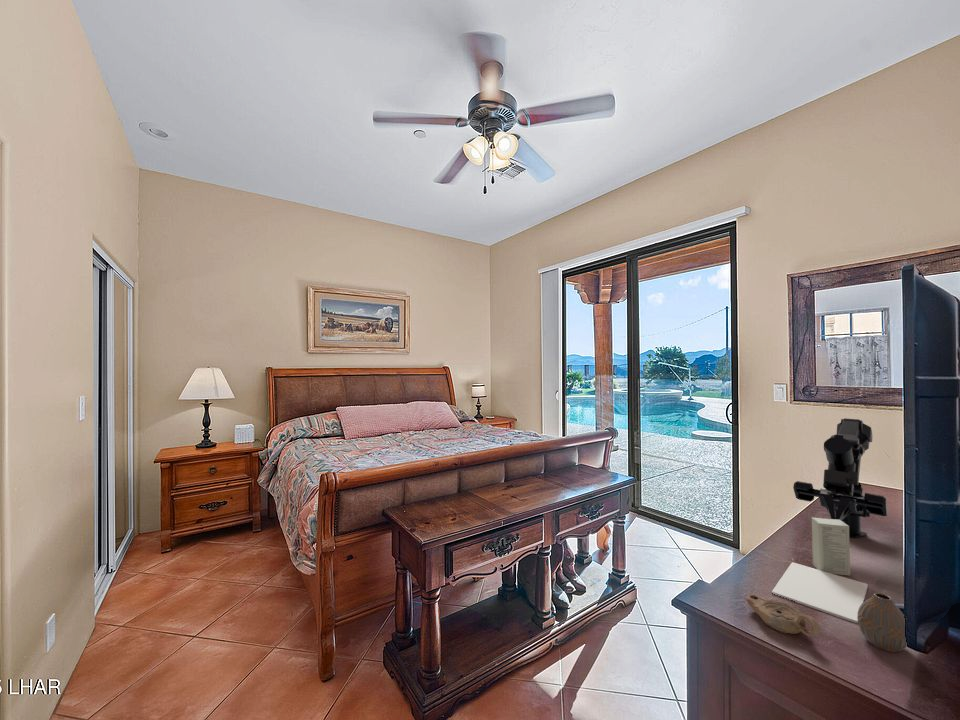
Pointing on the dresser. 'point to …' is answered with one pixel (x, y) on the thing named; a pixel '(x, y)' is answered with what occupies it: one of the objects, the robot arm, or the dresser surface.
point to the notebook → (822, 591)
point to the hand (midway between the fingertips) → (834, 525)
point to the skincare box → (831, 546)
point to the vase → (882, 623)
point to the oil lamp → (782, 616)
